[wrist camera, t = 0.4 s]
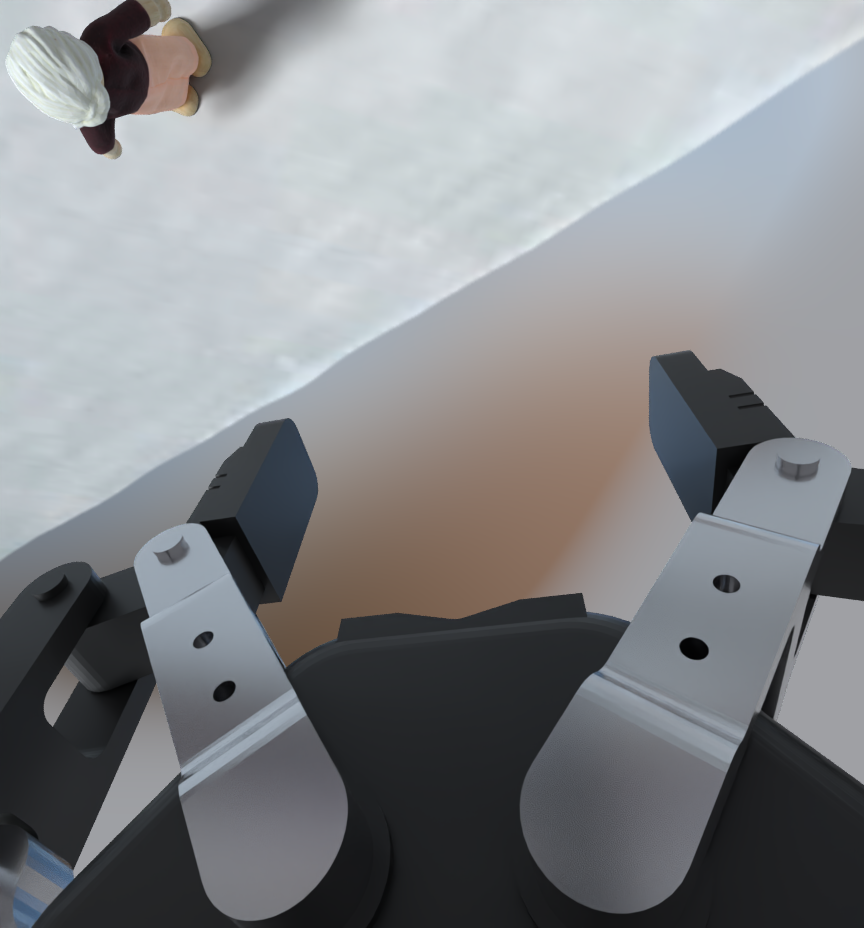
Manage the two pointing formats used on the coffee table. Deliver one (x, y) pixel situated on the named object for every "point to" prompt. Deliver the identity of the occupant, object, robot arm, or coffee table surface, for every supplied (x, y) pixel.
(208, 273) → the coffee table surface
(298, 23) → the coffee table surface
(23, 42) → the grandmother figurine
